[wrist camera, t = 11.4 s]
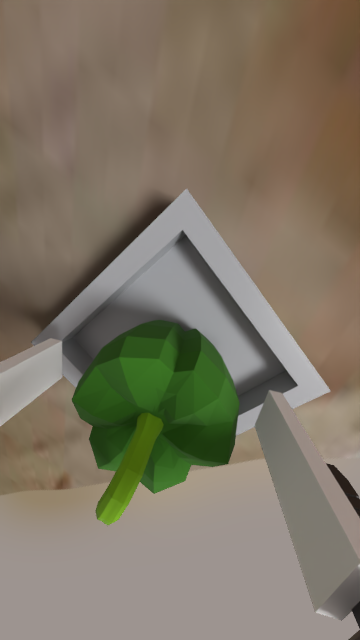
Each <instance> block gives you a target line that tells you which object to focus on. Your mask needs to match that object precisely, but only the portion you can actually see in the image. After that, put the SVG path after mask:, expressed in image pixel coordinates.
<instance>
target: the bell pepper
mask: <svg viewBox="0 0 360 640" xmlns="http://www.w3.org/2000/svg"><path fill="white" fill-rule="evenodd" d="M72 402H73V404H74V406H75V408H76V410H77V412H78V414H79V416H80V418H81V419H82V420H84V421H86V422H87V423H89V424H90V425H92V426H93V427H92V431H91V434H90V438H89V440H90V443H91V447H92V450H93V453H94V456H95V459H96V463H97V466H98V468H99V469H105V470H111V471H116V473H115V475H114V477H113V478H112V480H111V482H110V484H109V486H108V488H107V489H106V491H105V493H104V494H103V496H102V497H101V499H100V501H99V502H98V505H97V508H96V515H97V519H98V520H101V521H102V522H104V523H105V524H107V525H110V524H111V523H113V522H115V521H117V520H118V519H119V518H120V516H121V515H122V513H123V512H124V510H125V508H126V507H127V506H128V504H129V502H130V500H131V498H132V496H133V494H134V492H135V490H136V488H137V486H138V484H139V482H141V483H142V484H143V485H144V486H145V487H147V488H148V489H149V490H150V491H151V492H152V493H154V494H155V493H157V492H159V491H162V490H164V489H167V488H169V487H172V486H174V485H176V484H179V483H181V482H184V481H185V480H186V476H187V475H188V472H189V469H190V467H191V465H199V466H210V467H214V466H219V465H225V464H228V462H229V460H230V457H231V454H232V451H233V448H234V445H235V438H236V429H237V421H238V412H239V404H240V403H239V399H238V396H237V392H236V389H235V385H234V382H233V379H232V377H231V375H230V373H229V371H228V369H227V367H226V365H225V363H224V361H223V358H222V356H221V355H220V354H219V352H218V351H217V349H216V348H215V346H214V345H213V344H212V343H211V342H210V341H209V340H208V339H207V338H206V337H205V336H204V335H203V334H202V333H201V332H199V331H198V330H197V329H196V328H195V329H191V330H188V331H184V330H183V329H182V327H181V326H180V325H179V324H178V323H174V322H169V321H164V320H153V321H150V322H146V323H142V324H140V325H138V326H136V327H134V328H132V329H130V330H128V331H126V332H124V333H122V334H120V335H119V336H117V337H116V338H115V339H113V340H112V341H111V342H109V343H108V344H106V345H105V346H104V347H102V349H101V350H100V352H99V353H98V354H97V356H96V357H95V359H94V360H93V362H92V363H91V364H90V366H89V367H88V369H87V370H86V372H85V373H84V374H83V376H82V377H81V379H80V380H79V382H78V385H77V387H76V390H75V393H74V395H73V398H72Z"/></svg>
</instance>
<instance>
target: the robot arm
mask: <svg viewBox="0 0 360 640" xmlns="http://www.w3.org/2000/svg"><path fill="white" fill-rule="evenodd" d="M61 378H62V341H61V340H57V339H52V338H50V339H48V340H46V341H44V342H42V343H40V344H37V345H35V346H33V347H31V348H29V349H27V350H25V351H23V352H21V353H19V354H16V355H14V356H12V357H10V358H8V359H6V360H4V361H2V362H0V426H1V425H3V424H4V423H5V422H6V421H8V420H9V419H10V418H12V417H13V416H14V415H15V414H17V413H18V412H19V411H20V410H22V409H23V408H24V407H25V406H27V405H28V404H29V403H30V402H32V401H33V400H34V399H35V398H37V397H38V396H39V395H41V394H42V393H43V392H44V391H46V390H47V389H48V388H49V387H51V386H52V385H53V384H54V383H56V382H57V381H58V380H59V379H61ZM255 428H256V431H257V434H258V437H259V440H260V443H261V447H262V450H263V453H264V456H265V459H266V462H267V465H268V468H269V471H270V474H271V477H272V481H273V483H274V487H275V490H276V493H277V496H278V499H279V502H280V505H281V508H282V511H283V514H284V518H285V521H286V524H287V527H288V530H289V533H290V536H291V539H292V542H293V545H294V548H295V551H296V554H297V558H298V561H299V564H300V567H301V570H302V573H303V576H304V579H305V582H306V585H307V588H308V591H309V595H310V598H311V601H312V604H313V607H314V610H315V612H316V613H319V614H322V615H325V616H329V617H332V618H335V619H339V620H343V619H344V618H345V617H346V616H347V615H348V614H349V613H350V612H351V611H352V612H353V614H354V616H355V619H356V621H357V623H358V626H359V628H360V499H359V496H358V494H357V493H356V491H355V490H354V489H353V487H352V486H351V484H350V483H349V481H348V480H347V479H346V478H345V477H344V476H343V475H342V473H340V471H339V470H338V469H337V468H336V467H335V466H334V465H330V464H326V463H325V461H324V460H323V458H322V456H321V455H320V453H319V452H318V450H317V448H316V447H315V445H314V444H313V442H312V440H311V439H310V437H309V436H308V434H307V432H306V431H305V429H304V428H303V426H302V424H301V423H300V421H299V419H298V418H297V416H296V415H295V413H294V411H293V410H292V408H291V407H290V405H289V403H288V402H287V400H286V399H285V397H284V395H283V394H282V393H280V392H276V391H271V390H269V391H268V394H267V396H266V399H265V401H264V404H263V406H262V409H261V411H260V413H259V416H258V418H257V421H256V423H255ZM349 640H360V630H359V631H358V632H357V633H355V634H354V635H353V636H352V637H351V638H350V639H349Z"/></svg>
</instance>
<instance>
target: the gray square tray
mask: <svg viewBox="0 0 360 640" xmlns="http://www.w3.org/2000/svg"><path fill="white" fill-rule="evenodd" d="M153 320H164V321H169V322H174V323H178V324H179V325H180V326H181V327H182V329H183V330H184V331H188V330H191V329H195V328H196V329H197V330H198V331H199V332H201V333H202V334H203V335H204V336H205V337H206V338H207V339H208V340H209V341H210V342H211V343H212V344H213V345H214V346H215V348H216V349H217V351H218V352H219V354H220V355H221V356H222V358H223V361H224V363H225V365H226V367H227V369H228V371H229V373H230V375H231V377H232V379H233V382H234V385H235V389H236V392H237V396H238V399H239V403H240V404H239V412H238V421H237V429H236V435H238V434H240V433H243V432H245V431H247V430H249V429H251V428H253V427H255V423H256V421H257V418H258V416H259V413H260V411H261V409H262V406H263V404H264V401H265V399H266V396H267V394H268V391H269V390H271V391H276V392H280V393H282V394H283V395H284V397H285V399H286V400H287V402H288V403H289V405H290V407H291V408H292V409H294V408H296V407H298V406H300V405H302V404H304V403H306V402H308V401H311V400H313V399H315V398H317V397H319V396H321V395H323V394H325V393H328V392H330V389H329V388H328V387H327V385H326V384H325V382H324V381H323V380H322V378H321V377H320V375H319V374H318V373H317V371H316V370H315V368H314V367H313V365H312V364H311V363H310V361H309V360H308V358H307V357H306V356H305V354H304V353H303V351H302V350H301V349H300V347H299V346H298V344H297V343H296V342H295V340H294V339H293V337H292V336H291V335H290V333H289V332H288V330H287V329H286V328H285V326H284V325H283V323H282V322H281V320H280V319H279V318H278V316H277V315H276V313H275V312H274V311H273V309H272V308H271V306H270V305H269V304H268V302H267V301H266V299H265V298H264V297H263V295H262V294H261V292H260V291H259V290H258V288H257V287H256V285H255V284H254V283H253V281H252V280H251V278H250V277H249V275H248V274H247V273H246V271H245V270H244V268H243V267H242V266H241V264H240V263H239V261H238V260H237V259H236V257H235V256H234V254H233V253H232V252H231V250H230V249H229V247H228V246H227V245H226V243H225V242H224V240H223V239H222V238H221V236H220V235H219V233H218V232H217V230H216V229H215V228H214V226H213V225H212V223H211V222H210V221H209V219H208V218H207V216H206V215H205V214H204V212H203V211H202V209H201V208H200V207H199V205H198V204H197V202H196V201H195V200H194V198H193V197H192V195H191V194H190V193H189V191H188V190H187V189H186V190H185V191H184V192H183V193H182V194H181V195H180V196H179V197H178V198H176V199H175V200H174V201H173V202H172V203H171V204H170V205H169V206H168V207H167V208H166V209H165V210H164V211H163V212H162V213H161V214H160V215H159V216H158V217H157V218H156V219H155V220H154V221H153V222H152V223H151V224H150V225H149V226H148V227H147V228H146V229H145V230H144V231H143V232H142V233H141V234H140V235H139V236H138V237H137V238H136V239H135V240H134V241H133V242H132V243H131V244H130V245H129V246H128V247H127V248H126V249H125V250H124V251H123V252H122V253H121V254H120V255H119V256H118V257H117V258H116V259H115V260H114V261H113V262H112V263H111V264H110V265H109V266H108V267H107V268H106V269H105V270H104V271H103V272H102V273H101V274H100V275H99V276H98V277H97V278H96V279H95V280H94V281H93V282H92V283H91V284H90V285H89V286H88V287H87V288H86V289H84V290H83V291H82V292H81V293H80V294H79V295H78V296H77V297H76V298H75V299H74V300H73V301H72V302H71V303H70V304H69V305H68V306H67V307H66V308H65V309H64V310H63V311H62V312H61V313H60V314H59V315H58V316H57V317H56V318H55V319H54V320H53V321H52V322H51V323H50V324H49V325H48V326H47V327H46V328H45V329H44V330H43V331H42V332H41V333H40V334H39V335H38V336H37V337H36V338H35V339H34V340H33V341H32V342H31V343H32V344H33V345H34V346H35V345H37V344H40V343H42V342H44V341H46V340H48V339H50V338H52V339H57V340H61V341H62V374H63V375H64V376H65V377H66V378H67V379H68V380H69V381H70V382H71V383H72V384H73V385H74V386H75V388H76V387H77V385H78V382H79V380H80V379H81V377H82V376H83V374H84V373H85V372H86V370H87V369H88V367H89V366H90V364H91V363H92V362H93V360H94V359H95V357H96V356H97V354H98V353H99V352H100V350H101V349H102V347H104V346H105V345H106V344H108V343H109V342H111V341H112V340H113V339H115V338H116V337H117V336H119V335H120V334H122V333H124V332H126V331H128V330H130V329H132V328H134V327H136V326H138V325H140V324H142V323H146V322H150V321H153Z"/></svg>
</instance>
